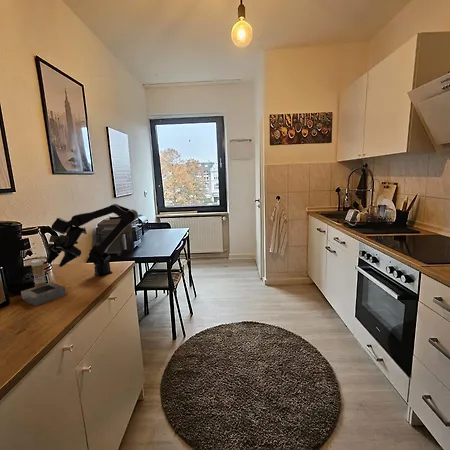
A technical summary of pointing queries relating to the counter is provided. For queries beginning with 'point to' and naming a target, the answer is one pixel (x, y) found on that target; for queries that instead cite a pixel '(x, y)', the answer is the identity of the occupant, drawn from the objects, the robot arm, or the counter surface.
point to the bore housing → (43, 293)
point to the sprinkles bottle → (38, 272)
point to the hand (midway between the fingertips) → (53, 265)
